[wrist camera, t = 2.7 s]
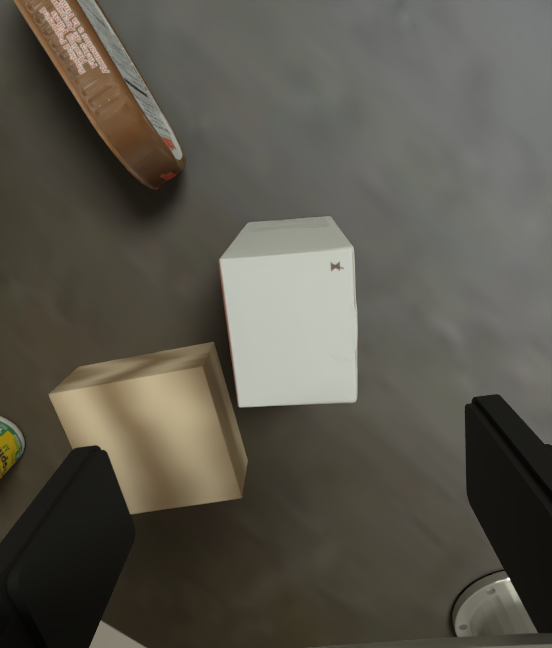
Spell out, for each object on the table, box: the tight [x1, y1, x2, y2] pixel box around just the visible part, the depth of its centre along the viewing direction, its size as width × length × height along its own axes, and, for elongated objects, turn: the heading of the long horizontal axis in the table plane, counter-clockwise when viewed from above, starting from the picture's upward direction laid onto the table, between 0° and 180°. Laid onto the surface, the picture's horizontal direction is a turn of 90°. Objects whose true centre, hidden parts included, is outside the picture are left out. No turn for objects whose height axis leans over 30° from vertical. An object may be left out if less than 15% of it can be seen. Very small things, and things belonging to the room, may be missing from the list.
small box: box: [218, 216, 358, 407], centre depth 26 cm, size 8×6×13 cm
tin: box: [13, 0, 186, 190], centre depth 24 cm, size 15×3×8 cm, turn 30°
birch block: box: [49, 342, 248, 514], centre depth 35 cm, size 12×12×5 cm
